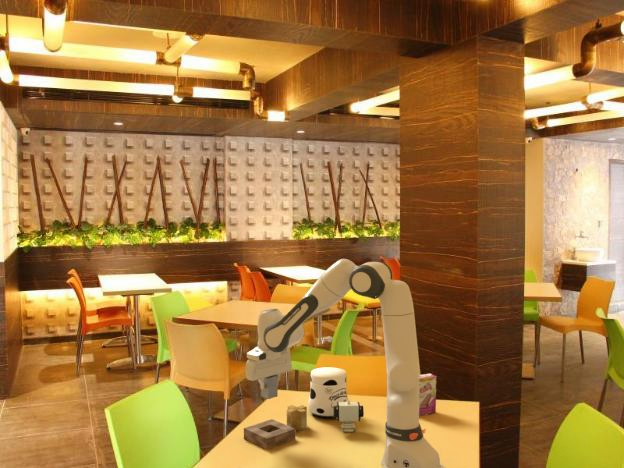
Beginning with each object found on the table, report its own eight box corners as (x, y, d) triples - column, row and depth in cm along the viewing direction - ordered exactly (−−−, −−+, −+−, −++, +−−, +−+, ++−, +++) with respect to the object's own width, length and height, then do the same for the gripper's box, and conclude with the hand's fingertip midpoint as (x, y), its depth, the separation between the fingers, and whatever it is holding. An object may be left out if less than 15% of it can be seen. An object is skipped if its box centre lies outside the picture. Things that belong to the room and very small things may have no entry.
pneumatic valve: (363, 432, 236) (363, 402, 235) (333, 433, 235) (333, 403, 235) (362, 427, 241) (362, 398, 241) (333, 427, 241) (333, 398, 240)
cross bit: (311, 428, 241) (311, 408, 240) (296, 433, 235) (296, 413, 234) (297, 422, 247) (297, 403, 246) (281, 427, 241) (281, 408, 241)
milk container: (346, 421, 247) (346, 378, 247) (304, 419, 251) (304, 376, 250) (350, 407, 264) (350, 367, 264) (312, 405, 268) (312, 365, 267)
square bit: (277, 396, 229) (277, 375, 229) (268, 399, 226) (268, 378, 225) (270, 393, 232) (270, 373, 232) (260, 396, 229) (260, 375, 229)
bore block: (295, 438, 230) (295, 428, 229) (267, 449, 220) (267, 438, 220) (271, 428, 240) (271, 419, 239) (243, 438, 230) (243, 428, 230)
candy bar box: (414, 417, 253) (415, 379, 252) (408, 413, 257) (408, 375, 256) (436, 413, 257) (437, 375, 256) (429, 409, 262) (430, 372, 261)
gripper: (284, 345, 237) (284, 379, 238) (243, 354, 223) (243, 390, 224) (295, 348, 233) (295, 383, 234) (253, 357, 219) (253, 394, 220)
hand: (269, 387), depth 229 cm, fingers closed on square bit, 4 cm apart
